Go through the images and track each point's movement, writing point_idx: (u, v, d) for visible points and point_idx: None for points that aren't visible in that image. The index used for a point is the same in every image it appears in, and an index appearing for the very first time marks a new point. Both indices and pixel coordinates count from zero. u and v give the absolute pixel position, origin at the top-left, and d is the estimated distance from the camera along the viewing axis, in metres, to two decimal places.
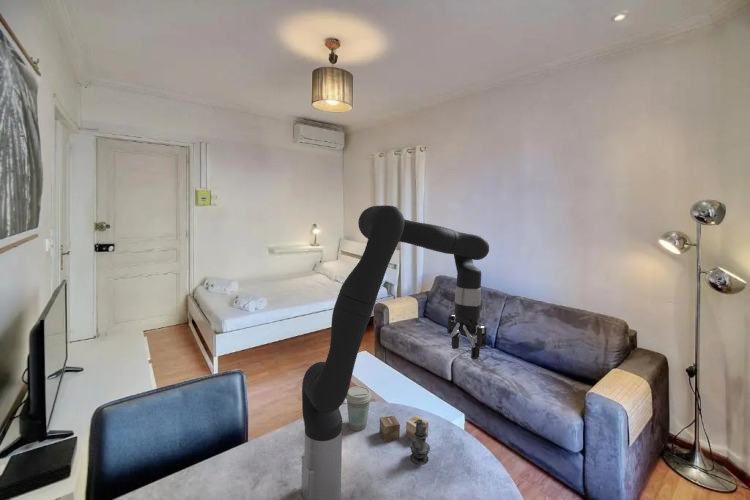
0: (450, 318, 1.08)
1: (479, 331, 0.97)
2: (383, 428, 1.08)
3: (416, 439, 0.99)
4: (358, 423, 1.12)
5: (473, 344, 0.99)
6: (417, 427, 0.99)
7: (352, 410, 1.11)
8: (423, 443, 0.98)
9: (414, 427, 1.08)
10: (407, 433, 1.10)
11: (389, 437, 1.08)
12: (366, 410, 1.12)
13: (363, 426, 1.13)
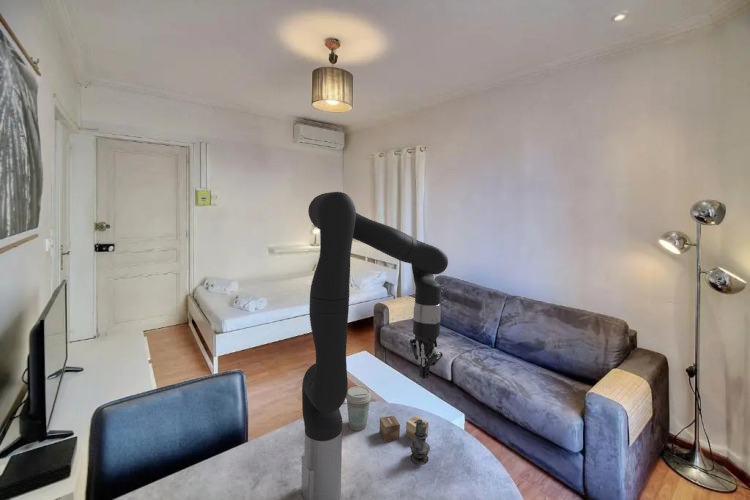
0: (411, 342, 1.01)
1: (433, 357, 0.92)
2: (383, 428, 1.08)
3: (416, 439, 0.99)
4: (358, 423, 1.12)
5: (422, 363, 0.96)
6: (417, 427, 0.99)
7: (352, 410, 1.11)
8: (423, 443, 0.98)
9: (414, 427, 1.08)
10: (407, 433, 1.10)
11: (389, 437, 1.08)
12: (366, 410, 1.12)
13: (363, 426, 1.13)
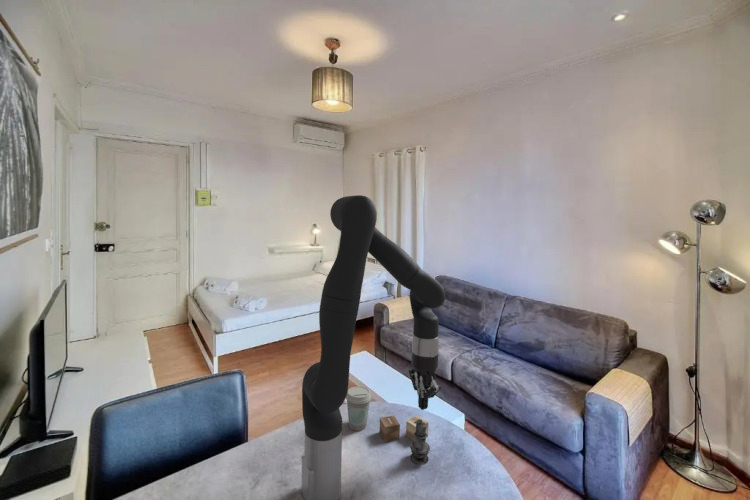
0: (410, 372, 1.02)
1: (431, 391, 0.93)
2: (383, 428, 1.08)
3: (416, 439, 0.99)
4: (358, 423, 1.12)
5: (421, 394, 0.97)
6: (417, 427, 0.99)
7: (352, 410, 1.11)
8: (423, 443, 0.98)
9: (414, 427, 1.08)
10: (407, 433, 1.10)
11: (389, 437, 1.08)
12: (366, 410, 1.12)
13: (363, 426, 1.13)
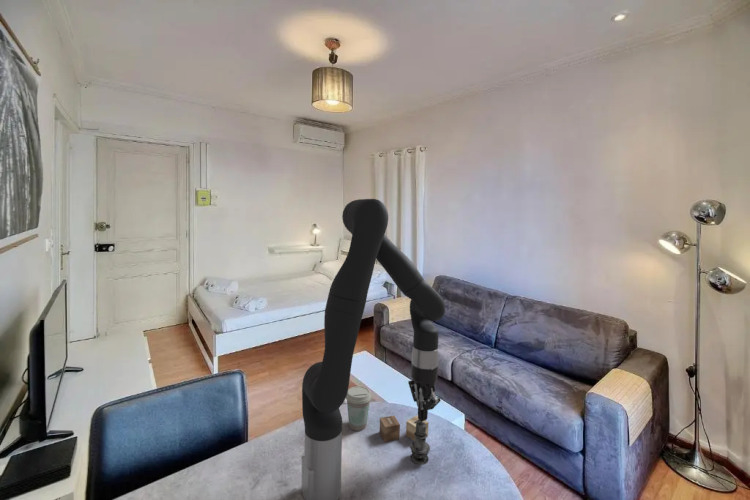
0: (410, 383, 1.02)
1: (431, 403, 0.93)
2: (383, 428, 1.08)
3: (416, 439, 0.99)
4: (358, 423, 1.12)
5: (421, 406, 0.97)
6: (417, 427, 0.99)
7: (352, 410, 1.11)
8: (423, 443, 0.98)
9: (414, 427, 1.08)
10: (407, 433, 1.10)
11: (389, 437, 1.08)
12: (366, 410, 1.12)
13: (363, 426, 1.13)
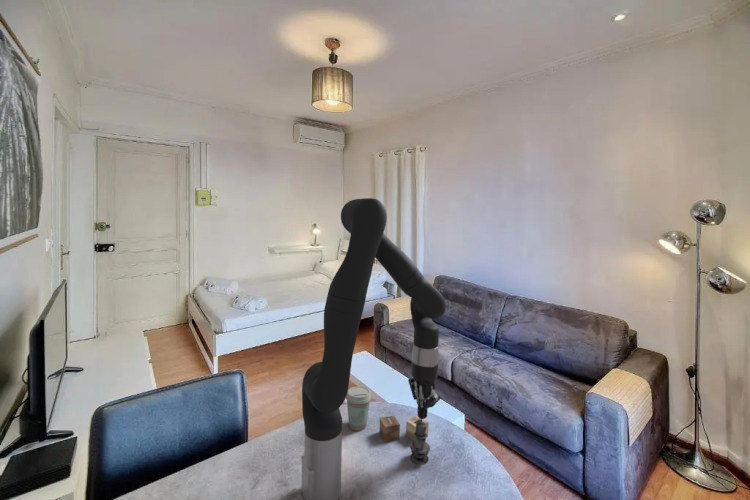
0: (410, 381, 1.02)
1: (431, 400, 0.93)
2: (383, 428, 1.08)
3: (416, 439, 0.99)
4: (358, 423, 1.12)
5: (421, 404, 0.97)
6: (417, 427, 0.99)
7: (352, 410, 1.11)
8: (423, 443, 0.98)
9: (414, 427, 1.08)
10: (407, 433, 1.10)
11: (389, 437, 1.08)
12: (366, 410, 1.12)
13: (363, 426, 1.13)
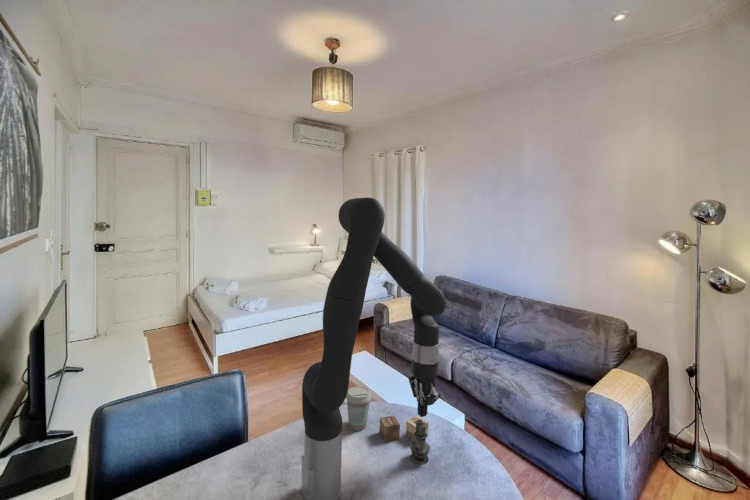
0: (410, 379, 1.02)
1: (431, 398, 0.93)
2: (383, 428, 1.08)
3: (416, 439, 0.99)
4: (358, 423, 1.12)
5: (421, 402, 0.97)
6: (417, 427, 0.99)
7: (352, 410, 1.11)
8: (423, 443, 0.98)
9: (414, 427, 1.08)
10: (407, 433, 1.10)
11: (389, 437, 1.08)
12: (366, 410, 1.12)
13: (363, 426, 1.13)
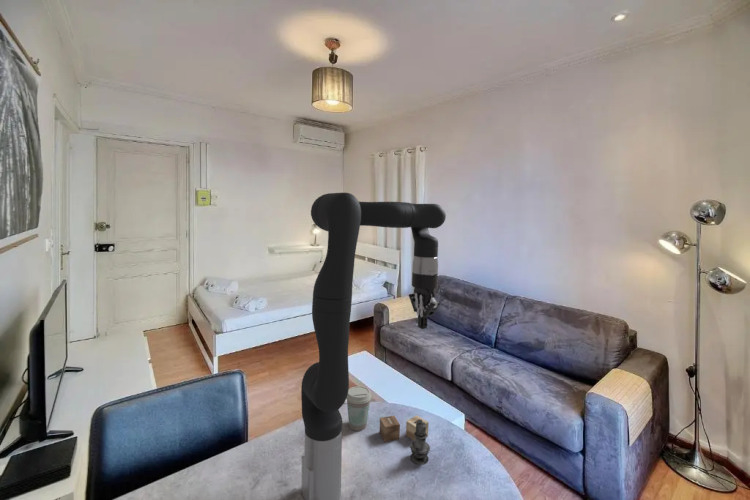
0: (410, 296, 1.06)
1: (431, 306, 0.97)
2: (383, 428, 1.08)
3: (416, 439, 0.99)
4: (358, 423, 1.12)
5: (421, 313, 1.02)
6: (417, 427, 0.99)
7: (352, 410, 1.11)
8: (423, 443, 0.98)
9: (414, 427, 1.08)
10: (407, 433, 1.10)
11: (389, 437, 1.08)
12: (366, 410, 1.12)
13: (363, 426, 1.13)
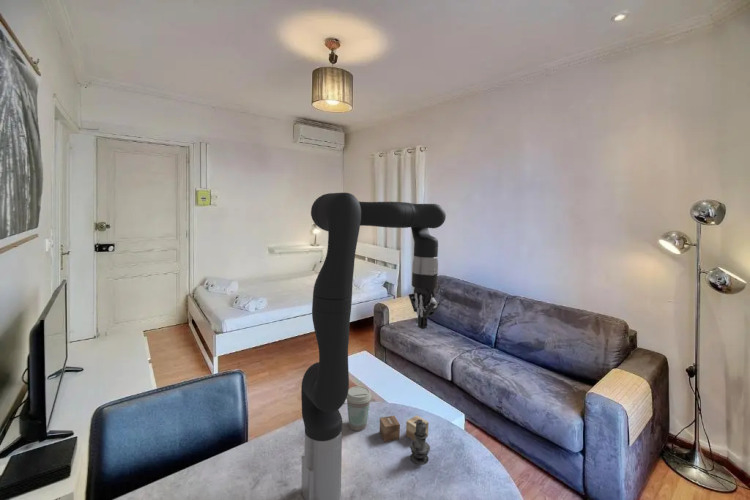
0: (410, 296, 1.06)
1: (431, 306, 0.97)
2: (383, 428, 1.08)
3: (416, 439, 0.99)
4: (358, 423, 1.12)
5: (421, 314, 1.02)
6: (417, 427, 0.99)
7: (352, 410, 1.11)
8: (423, 443, 0.98)
9: (414, 427, 1.08)
10: (407, 433, 1.10)
11: (389, 437, 1.08)
12: (366, 410, 1.12)
13: (363, 426, 1.13)
